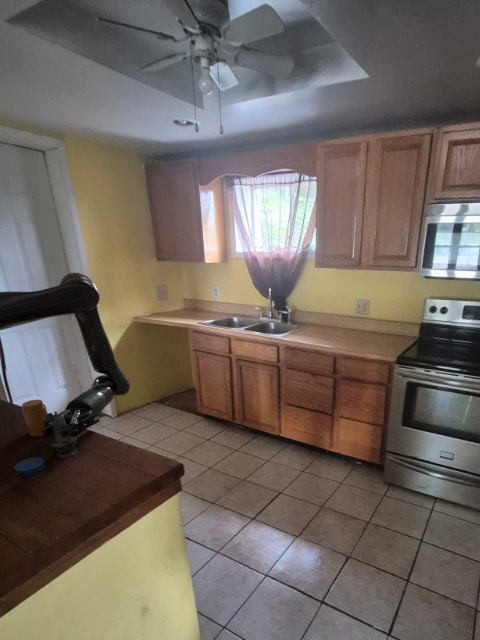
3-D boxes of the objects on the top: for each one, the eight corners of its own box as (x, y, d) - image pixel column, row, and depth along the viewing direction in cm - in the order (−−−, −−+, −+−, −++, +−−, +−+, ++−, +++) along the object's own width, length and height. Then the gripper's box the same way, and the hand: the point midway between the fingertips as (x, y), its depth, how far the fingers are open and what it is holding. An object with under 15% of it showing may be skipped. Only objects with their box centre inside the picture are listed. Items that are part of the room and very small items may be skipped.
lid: (51, 464, 92) (49, 458, 91) (32, 478, 87) (30, 472, 86) (30, 462, 93) (28, 456, 92) (10, 475, 87) (7, 469, 87)
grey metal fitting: (84, 450, 98) (73, 409, 93) (61, 461, 93) (49, 418, 89) (71, 445, 101) (60, 404, 96) (49, 454, 96) (36, 413, 91)
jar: (26, 440, 103) (15, 406, 99) (41, 431, 108) (31, 398, 104) (43, 441, 102) (33, 407, 98) (58, 432, 107) (48, 399, 103)
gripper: (114, 417, 109) (86, 447, 93) (65, 417, 108) (28, 448, 93) (109, 393, 106) (79, 421, 90) (59, 394, 105) (19, 421, 90)
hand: (53, 434), depth 92 cm, fingers open, 3 cm apart
